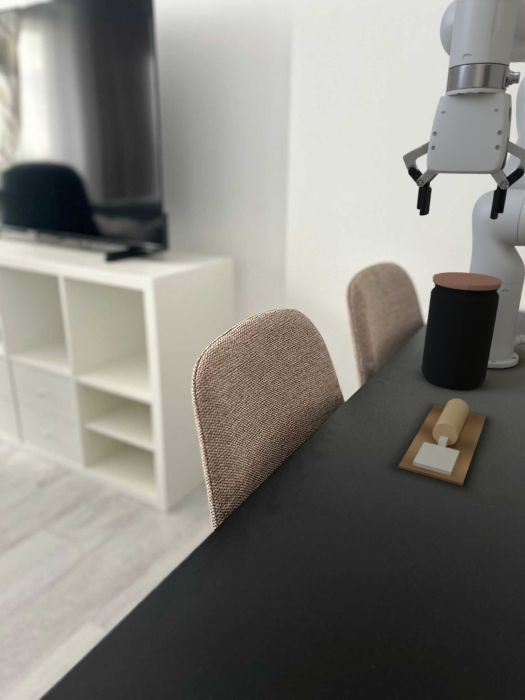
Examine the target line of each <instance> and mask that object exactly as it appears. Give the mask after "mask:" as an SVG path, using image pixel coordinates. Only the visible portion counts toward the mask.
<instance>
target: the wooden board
mask: <svg viewBox="0 0 525 700" xmlns="http://www.w3.org/2000/svg"><path fill="white" fill-rule="evenodd" d="M444 408H445V406H441V405H437V404H434V405H433V407H432V408H431V410H430V412H429V413H428V415H427V416H426V418H425V420H424V422H423V423H422V425H421V426H420V429H419V430H418V432H417V433H416V435H415V437H414V438H413V441H412V442H411V444H410V445H409V448H408V449H407V451H406V452H405V453H404V456H403V458H402V459H401V461H400V462H399V464H398V469H399V470H400V469H401V470H405V471H407V472H411V473H415V474H418V475H422V476H426V477H428V478H432V479H436V480H440V481H443V482H446V483H450V484H453V485H456V486H457V485H458V486H461V487H463V486H464V482H465V480H466V477H467V475H468V471H469V469H470V466H471V463H472V460H473V458H474V454H475V452H476V449H477V446H478V442H479V439H480V437H481V435H482V431H483V428H484V425H485V423H486V419H487V416H486V415H483V414H478V413H473V412H469V413H468V416H467V418H466V420H465V423H464V425H463V427H462V430H461V432H460V434H459V437H458V439H457V441H456V442H455V443H454V444H453V445H449V446H447V447H446V448H450V449H454V450H458V451H460V453H459V457H458V459H457V462H456V464H455V467H454V469H453V472H452V474H451V476H449V475H446V474H442V473H438V472H435V471H431V470H428V469H424V468H421V467H417V466H413V461H414V459H415V458H416V456H417V454H418V452H419V450H420V448H421V447H422V445H423V443H424V442H427V443H431V444H434V445H438V442H437V441H436V440H435V439H434V437H433V434H432V432H433V428H434V427H435V425H436V423H437V421H438V419H439V417H440V415H441V414H442V412H443V410H444Z"/></svg>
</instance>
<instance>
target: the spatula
mask: <svg viewBox="0 0 525 700" xmlns="http://www.w3.org/2000/svg"><path fill="white" fill-rule="evenodd" d="M444 407H445V408H444V410H443V412H442V414H441V415H440V417H439V419H438V421H437V423H436V425H435V427H434V428H433V432H432V434H433V437H434V439H435V440H436V441H437V442H438V445H434V444H431V443H427V442H424V443H423V445H422V447H421V448H420V450H419V452H418V454H417V456H416V458H415V459H414V461H413V466H417V467H421V468H424V469H428V470H431V471H435V472H438V473H442V474H446V475H449V476H451V474H452V472H453V469H454V467H455V464H456V462H457V459H458V457H459V453H460V451H458V450H454V449H450V448H446V447H447V446H449V445H453V444H454V443H455V442H456V441H457V439H458V437H459V434H460V432H461V430H462V427H463V425H464V423H465V420H466V418H467V416H468V413H470V407H469V405H468V403H467V402H466V401H465V400H463V399H461V398H452V399H450V400H448V401H447V403H446V404H445V406H444Z"/></svg>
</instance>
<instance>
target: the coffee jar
mask: <svg viewBox="0 0 525 700" xmlns="http://www.w3.org/2000/svg"><path fill="white" fill-rule="evenodd" d="M432 282H433V284H434V287H433V288H432V289H431V291H430V296H429V302H428V303H429V304H428V312H427V319H426V328H425V335H424V344H423V351H422V361H421V366H420V367H421V368H420V369H421V372H422V375H423V376H424V379H425V380H426V381H427V382H428V383H430V384H432V385H434V386H437V387H440V388H443V389H449V390H454V391H470V390H474V389H478V388H479V387H480V386H481V385H482V384H483V383H484V382H485V381H486V378H487V373H488V369H489V368H488V362H489V356H490V350H491V344H492V338H493V332H494V326H495V321H496V315H497V309H498V303H499V294H498V293H497V290H498V289H499V288H500V287H501V284H502V281H501V280H500V279H498V278H495V277H492V276H488V275H482V274H476V273H469V272H463V271H462V272H460V271H446V272H439V273H435V274H433V275H432Z"/></svg>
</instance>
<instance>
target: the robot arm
mask: <svg viewBox="0 0 525 700" xmlns="http://www.w3.org/2000/svg"><path fill="white" fill-rule="evenodd" d="M439 39H440V43H441V46H442V48H443V50H444V52H445V53H446V55H447V56H448V57H449V60H448V68H447V69H448V70H447V76H446V84H445V93H444V95H441V96H440V97H439V100H438V103H437V105H436V109H435V114H434V118H433V121H432V126H431V131H430V137H429V141H427V142H426V143H424V144H422V145H420V146H417V147H416V148H414V149H412V150H410V151H409V152H406V153H405V154H403V156H402V160H403V162H404V165H405V169H406V170H407V173H408V175H409V177H410V178H411V179H412V181H414V183H415V184H416V186H417V187H418V191H417V200H416V210H419V214H418V215H419V216H420V217H424V216H427V215H429V214H430V208H431V201H432V190H433V188H432V186H431V182H432V181H433V180H434V179H436V177H437V176H438V175H439V174H448V175H449V174H453V175H455V174H456V175H491V177H492V179H493V180H494V182H495V183H496V188H495V189H493V190H489V191H487V192H485V193H483V194H482V195H480V196H479V197H478V198H477V200H476V201H475V203H474V205H473V208H472V214H471V235H472V237H471V238H472V241H471V242H472V243H471V256H470V257H471V258H470V265H469V272H468V273H476V274H482V275H488V276H492V277H495V278H498V279H500V280H501V281H502V284H501V287H500V288H499V289H498V290H497V293H498V294H499V303H498V309H497V315H496V321H495V326H494V332H493V338H492V344H491V350H490V356H489V362H488V368H487V369H508V368H511V367H515V366H516V365H517V364H519V360H520V359H519V358H520V357H519V354H517V352H515V351H514V350H515V348H516V347H517V346H523V345H525V334H520V335H515V333H516V327H517V321H518V316H519V312H520V311H519V310H520V304H521V299H522V294H523V289H524V283H525V263H524V260H523V258H522V257H521V255H520V253H519V252H518V250H517V248H516V247H525V76H524V77H523V78H522V80H521V81H520V78H521V71H516V72H515V71H514V70H511V69H510V64H511V63H513V64H514V63H517V64H518V63H525V0H453V1H452V2H451V3H450V4H448V5H447V7H446V9H445V10H444V13H443V15H442V18H441V21H440V26H439ZM518 84H519V85H518ZM513 85H518V88H517V92H516V101H515V123H516V124H515V125H516V134H517V140H516V142H515V143H514V142H512V141H511V140H510V138H511V129H512V128H511V127H512V113H513V110H512V109H513V107H512V106H513V104H512V103H513V102H512V101H513V100H512V95H511V94H510V93H506V92H507V91H508V88H509V87H510V86H513ZM508 154H509V156H508ZM425 155H426V170H425V171H424V172H422V171H421V170H420V169H419V168H418V165H417V160H418V159H419V158H422V157H424V156H425Z"/></svg>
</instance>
